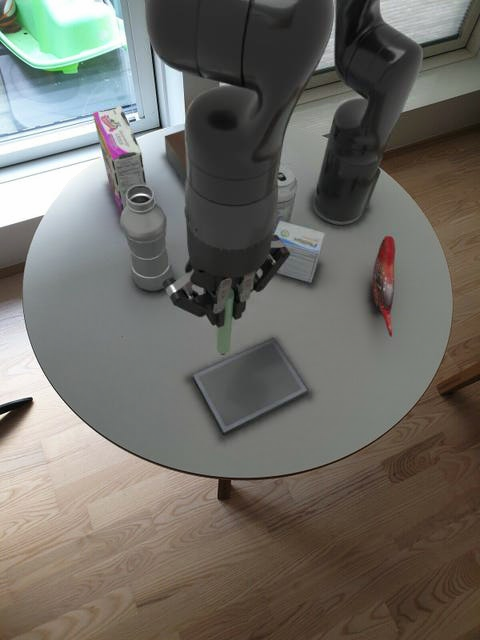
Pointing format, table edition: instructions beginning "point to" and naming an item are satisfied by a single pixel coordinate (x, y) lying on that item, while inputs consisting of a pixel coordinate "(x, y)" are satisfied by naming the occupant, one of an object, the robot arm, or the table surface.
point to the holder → (177, 153)
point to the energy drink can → (285, 194)
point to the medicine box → (299, 250)
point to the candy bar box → (119, 153)
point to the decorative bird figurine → (384, 279)
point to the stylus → (226, 326)
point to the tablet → (249, 385)
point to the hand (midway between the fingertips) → (225, 316)
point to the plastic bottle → (146, 238)
